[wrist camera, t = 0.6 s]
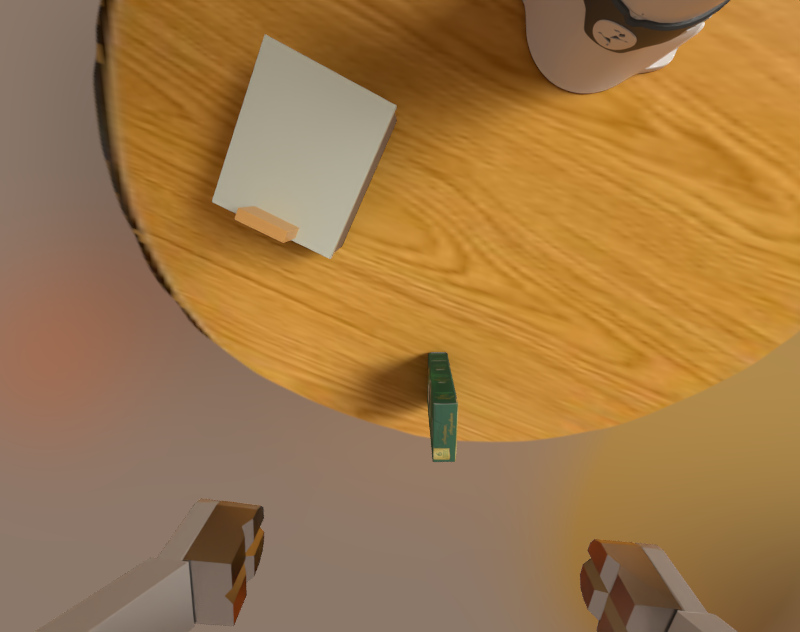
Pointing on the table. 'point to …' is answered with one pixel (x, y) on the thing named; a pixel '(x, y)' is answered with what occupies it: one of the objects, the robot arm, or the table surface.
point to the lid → (300, 149)
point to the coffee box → (442, 408)
